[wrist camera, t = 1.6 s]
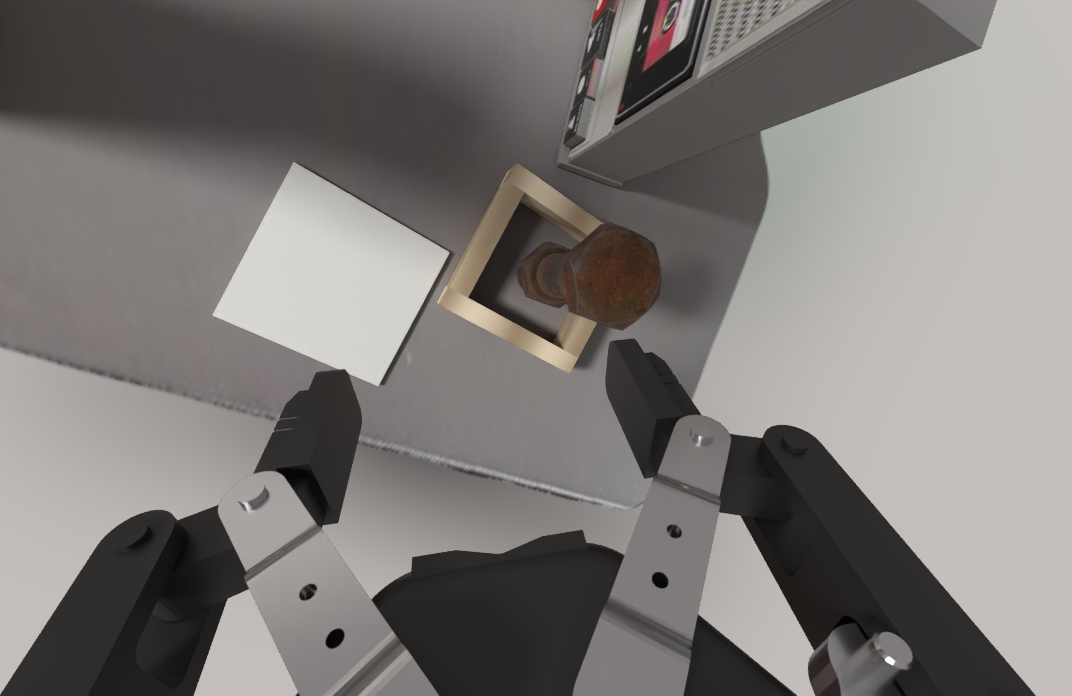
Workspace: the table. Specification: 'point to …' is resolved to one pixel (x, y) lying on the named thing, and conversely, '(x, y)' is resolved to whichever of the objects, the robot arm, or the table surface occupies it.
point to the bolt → (596, 276)
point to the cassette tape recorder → (739, 70)
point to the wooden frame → (506, 199)
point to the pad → (331, 277)
